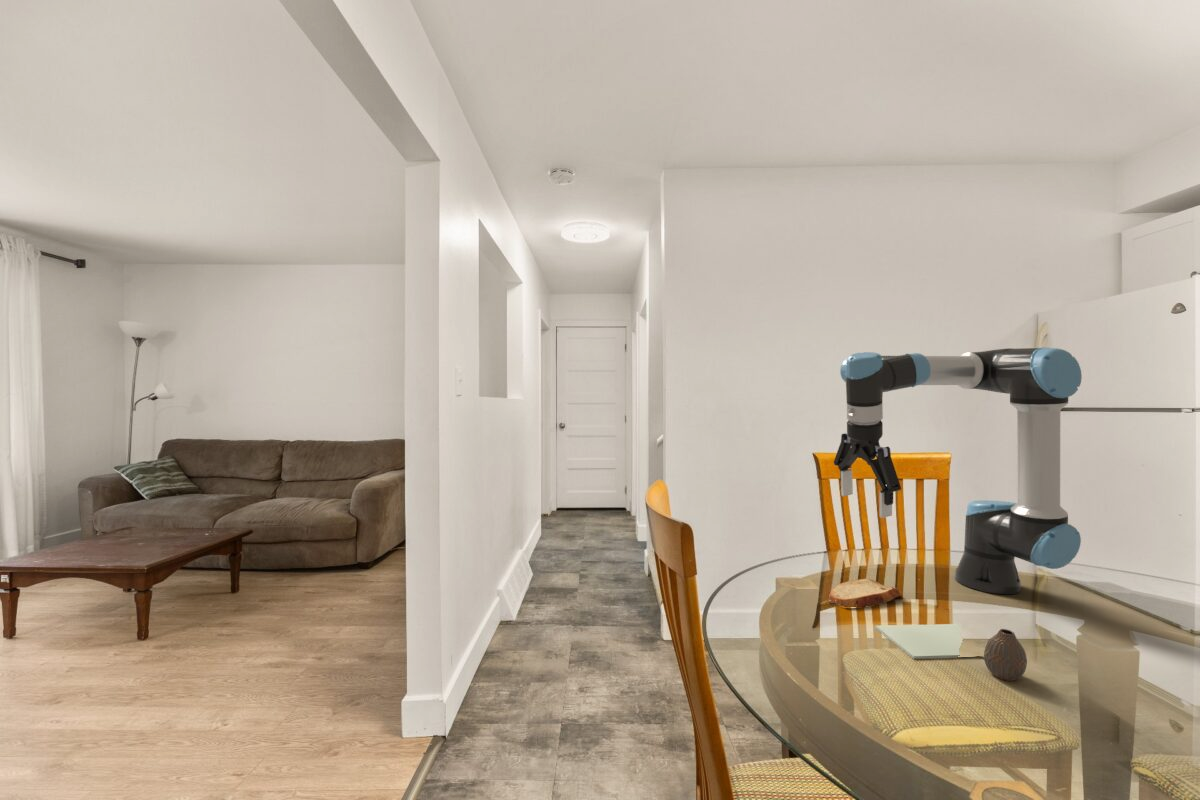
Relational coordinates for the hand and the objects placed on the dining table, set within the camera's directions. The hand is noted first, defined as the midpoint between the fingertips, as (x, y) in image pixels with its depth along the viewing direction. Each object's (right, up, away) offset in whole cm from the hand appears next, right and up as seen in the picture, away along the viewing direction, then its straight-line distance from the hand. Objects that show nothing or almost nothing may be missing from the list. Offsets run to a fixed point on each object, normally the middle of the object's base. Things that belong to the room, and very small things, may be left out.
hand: (865, 505), depth 143 cm
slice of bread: (+4, -26, +10) cm, 28 cm away
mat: (+9, -27, -14) cm, 32 cm away
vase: (+15, -28, -27) cm, 42 cm away
